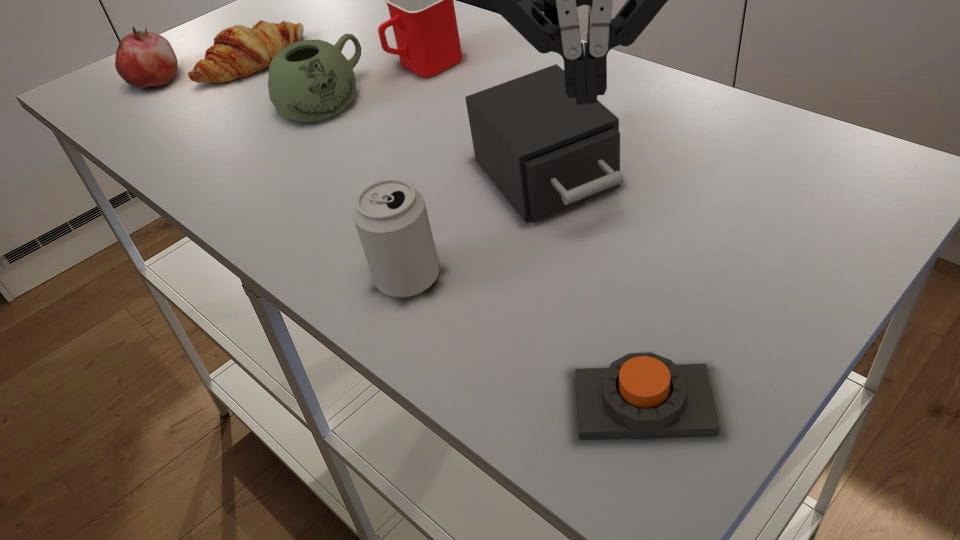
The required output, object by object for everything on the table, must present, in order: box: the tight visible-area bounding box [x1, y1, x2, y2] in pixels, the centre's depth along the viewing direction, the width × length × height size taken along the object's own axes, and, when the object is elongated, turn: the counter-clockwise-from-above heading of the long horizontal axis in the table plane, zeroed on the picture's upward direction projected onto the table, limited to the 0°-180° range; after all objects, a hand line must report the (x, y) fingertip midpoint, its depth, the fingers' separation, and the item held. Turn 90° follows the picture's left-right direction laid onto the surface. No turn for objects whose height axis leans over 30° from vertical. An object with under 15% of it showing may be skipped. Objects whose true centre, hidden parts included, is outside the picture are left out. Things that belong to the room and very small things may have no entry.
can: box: [352, 177, 440, 298], centre depth 80 cm, size 8×8×12 cm
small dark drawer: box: [524, 128, 624, 222], centre depth 89 cm, size 18×11×8 cm, turn 24°
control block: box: [574, 351, 720, 440], centre depth 68 cm, size 12×7×3 cm, turn 87°
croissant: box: [187, 19, 305, 84], centre depth 123 cm, size 21×10×8 cm, turn 134°
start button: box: [619, 356, 671, 408], centre depth 67 cm, size 4×4×2 cm
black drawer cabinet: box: [464, 63, 620, 224], centre depth 91 cm, size 15×13×10 cm
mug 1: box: [267, 33, 362, 123], centre depth 111 cm, size 16×13×9 cm
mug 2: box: [377, 0, 463, 78], centre depth 114 cm, size 12×8×11 cm
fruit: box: [114, 26, 179, 89], centre depth 121 cm, size 9×10×10 cm
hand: (586, 97), depth 53 cm, fingers closed
